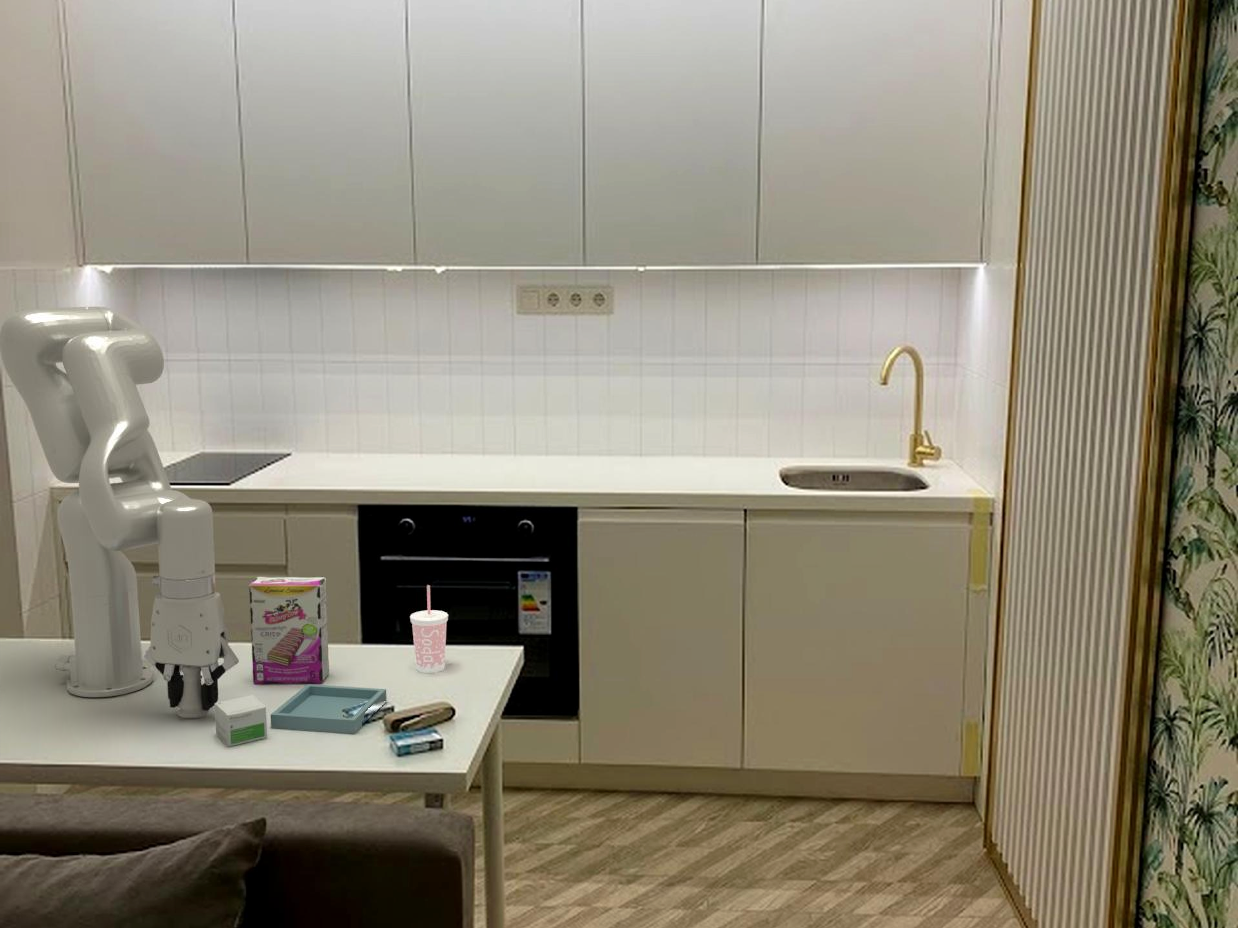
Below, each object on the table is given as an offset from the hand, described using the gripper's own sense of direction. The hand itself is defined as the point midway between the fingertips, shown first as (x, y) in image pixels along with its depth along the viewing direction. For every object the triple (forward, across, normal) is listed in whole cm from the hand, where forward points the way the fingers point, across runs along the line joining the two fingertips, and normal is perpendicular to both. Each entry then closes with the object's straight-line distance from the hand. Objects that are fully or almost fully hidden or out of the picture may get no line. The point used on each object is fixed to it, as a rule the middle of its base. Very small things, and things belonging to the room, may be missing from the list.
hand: (193, 704), depth 175 cm
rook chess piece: (+2, 0, 0) cm, 2 cm away
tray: (+1, +20, +4) cm, 20 cm away
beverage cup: (+2, +28, +26) cm, 38 cm away
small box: (+2, +11, -6) cm, 12 cm away
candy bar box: (+2, +8, +17) cm, 18 cm away
